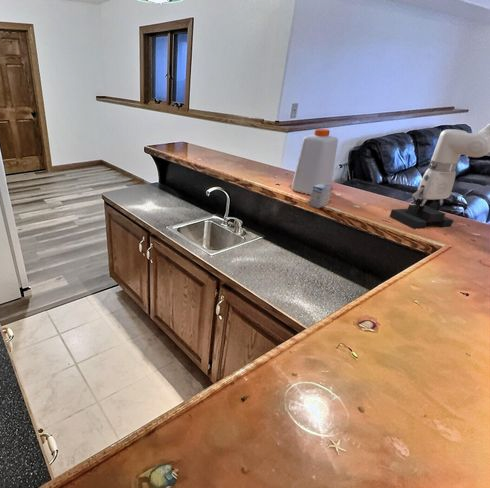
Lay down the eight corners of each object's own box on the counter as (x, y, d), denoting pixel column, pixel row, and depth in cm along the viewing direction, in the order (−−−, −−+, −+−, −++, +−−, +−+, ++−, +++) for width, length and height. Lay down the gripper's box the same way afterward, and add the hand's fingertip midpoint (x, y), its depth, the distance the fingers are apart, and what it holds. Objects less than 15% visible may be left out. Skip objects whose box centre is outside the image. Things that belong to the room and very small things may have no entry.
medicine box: (318, 201, 152) (322, 182, 148) (328, 204, 149) (332, 185, 145) (308, 205, 148) (313, 185, 144) (318, 208, 144) (323, 188, 141)
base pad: (421, 214, 139) (424, 207, 138) (450, 227, 128) (453, 220, 127) (389, 216, 137) (391, 209, 136) (415, 229, 126) (418, 222, 124)
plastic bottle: (333, 191, 166) (347, 130, 153) (317, 198, 157) (331, 133, 144) (303, 184, 176) (314, 126, 163) (287, 190, 167) (298, 129, 154)
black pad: (420, 211, 135) (422, 204, 134) (442, 221, 126) (445, 213, 125) (406, 212, 134) (409, 204, 133) (428, 222, 125) (431, 214, 124)
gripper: (429, 170, 117) (412, 219, 125) (473, 168, 120) (453, 217, 128) (412, 164, 124) (396, 212, 132) (453, 163, 127) (436, 209, 135)
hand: (424, 214), depth 130 cm, fingers closed on black pad, 6 cm apart
